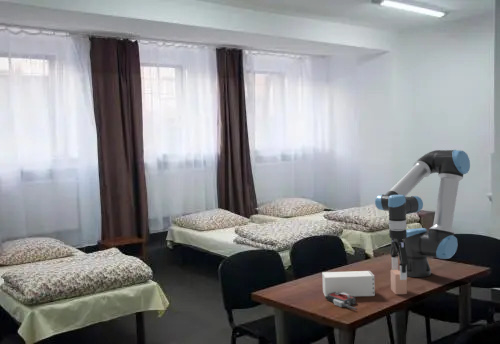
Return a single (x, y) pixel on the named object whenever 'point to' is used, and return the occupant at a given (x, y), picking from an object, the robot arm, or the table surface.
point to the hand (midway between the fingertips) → (399, 275)
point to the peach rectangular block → (398, 283)
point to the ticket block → (349, 283)
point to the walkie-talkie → (341, 299)
